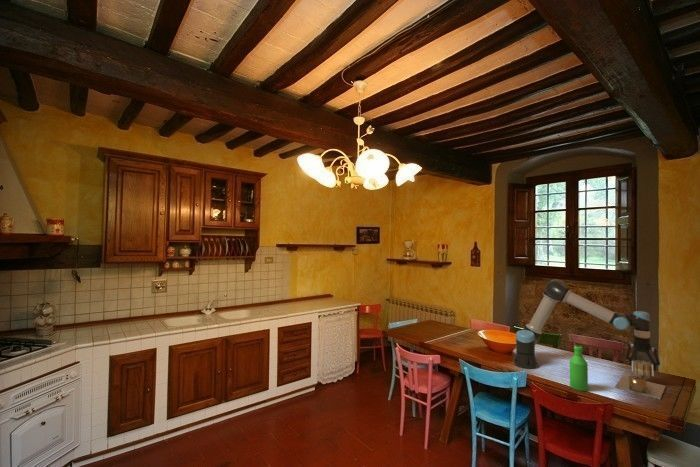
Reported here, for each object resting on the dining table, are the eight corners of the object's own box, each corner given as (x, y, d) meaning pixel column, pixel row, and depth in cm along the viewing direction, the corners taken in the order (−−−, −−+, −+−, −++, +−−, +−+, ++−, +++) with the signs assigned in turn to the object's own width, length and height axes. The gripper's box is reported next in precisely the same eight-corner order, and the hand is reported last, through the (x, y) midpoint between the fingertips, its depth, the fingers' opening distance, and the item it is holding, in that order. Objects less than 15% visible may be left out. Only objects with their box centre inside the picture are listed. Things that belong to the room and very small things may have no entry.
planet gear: (653, 373, 205) (652, 362, 205) (650, 377, 199) (650, 366, 199) (635, 369, 211) (634, 358, 212) (632, 373, 206) (632, 362, 206)
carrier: (660, 400, 183) (659, 385, 184) (614, 387, 199) (614, 374, 199) (665, 387, 200) (665, 373, 200) (623, 376, 215) (623, 364, 215)
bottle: (580, 385, 202) (580, 344, 203) (591, 391, 194) (591, 348, 194) (566, 385, 202) (566, 344, 203) (576, 391, 193) (576, 348, 194)
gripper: (666, 339, 200) (667, 376, 200) (621, 332, 216) (622, 366, 216) (664, 341, 195) (665, 380, 195) (619, 334, 212) (619, 369, 211)
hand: (642, 373), depth 205 cm, fingers closed on planet gear, 9 cm apart
